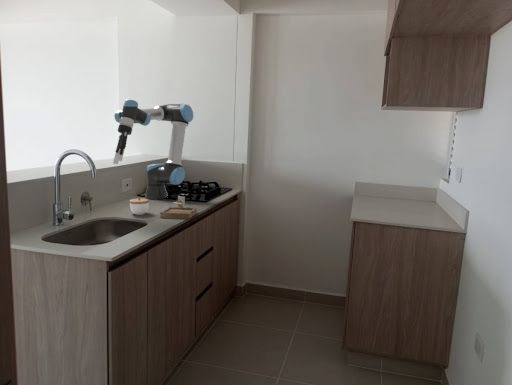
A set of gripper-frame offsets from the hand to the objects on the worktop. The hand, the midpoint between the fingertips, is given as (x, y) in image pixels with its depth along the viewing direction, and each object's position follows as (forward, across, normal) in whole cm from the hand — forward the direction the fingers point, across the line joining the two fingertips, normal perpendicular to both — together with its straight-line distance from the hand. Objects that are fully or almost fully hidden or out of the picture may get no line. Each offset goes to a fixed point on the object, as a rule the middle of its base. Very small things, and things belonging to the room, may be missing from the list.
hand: (117, 162), depth 237 cm
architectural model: (+17, -7, +43) cm, 47 cm away
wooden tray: (+23, +12, +38) cm, 45 cm away
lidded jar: (+26, 0, +18) cm, 31 cm away
